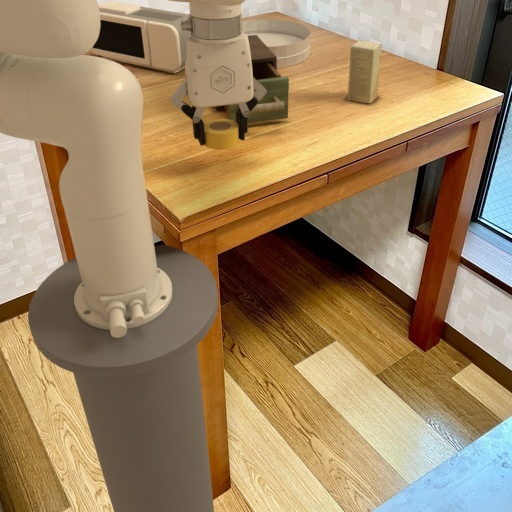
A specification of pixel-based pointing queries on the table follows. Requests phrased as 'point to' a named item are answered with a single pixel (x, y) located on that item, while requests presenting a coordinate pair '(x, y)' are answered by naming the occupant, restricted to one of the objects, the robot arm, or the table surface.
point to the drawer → (266, 95)
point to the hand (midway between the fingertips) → (220, 138)
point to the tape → (221, 134)
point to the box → (364, 71)
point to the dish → (281, 39)
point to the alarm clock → (142, 36)
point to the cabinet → (257, 56)
